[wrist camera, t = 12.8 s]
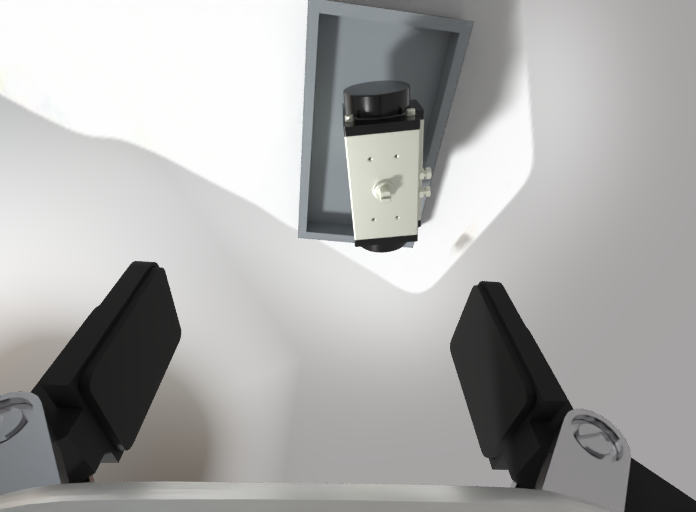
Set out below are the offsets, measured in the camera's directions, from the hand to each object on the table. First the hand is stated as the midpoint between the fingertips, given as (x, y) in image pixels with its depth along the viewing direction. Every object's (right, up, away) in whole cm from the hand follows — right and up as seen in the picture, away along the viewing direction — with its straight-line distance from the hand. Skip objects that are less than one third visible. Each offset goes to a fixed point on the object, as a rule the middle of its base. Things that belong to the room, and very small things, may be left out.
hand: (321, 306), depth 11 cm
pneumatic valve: (+3, +12, +22) cm, 26 cm away
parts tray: (+3, +13, +22) cm, 26 cm away
